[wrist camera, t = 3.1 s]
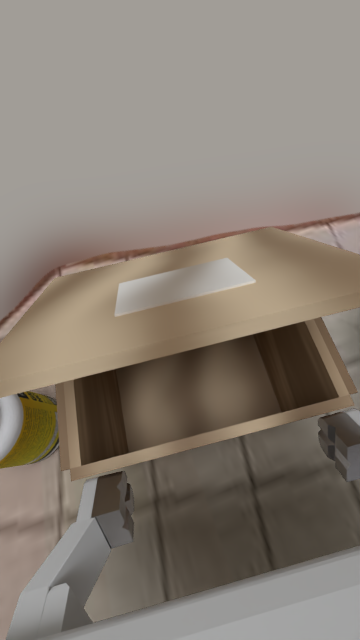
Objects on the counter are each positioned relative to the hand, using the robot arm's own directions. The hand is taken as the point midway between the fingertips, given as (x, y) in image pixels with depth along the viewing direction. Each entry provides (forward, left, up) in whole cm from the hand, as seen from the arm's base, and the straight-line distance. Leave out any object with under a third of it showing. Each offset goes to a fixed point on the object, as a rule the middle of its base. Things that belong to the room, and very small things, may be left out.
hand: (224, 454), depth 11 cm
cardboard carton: (0, -6, -16) cm, 17 cm away
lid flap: (0, -8, 0) cm, 8 cm away
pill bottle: (+16, -5, -16) cm, 23 cm away
